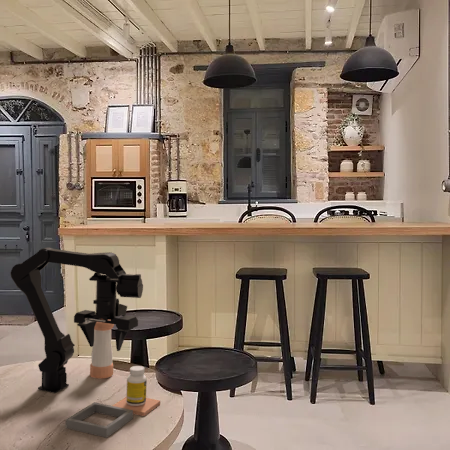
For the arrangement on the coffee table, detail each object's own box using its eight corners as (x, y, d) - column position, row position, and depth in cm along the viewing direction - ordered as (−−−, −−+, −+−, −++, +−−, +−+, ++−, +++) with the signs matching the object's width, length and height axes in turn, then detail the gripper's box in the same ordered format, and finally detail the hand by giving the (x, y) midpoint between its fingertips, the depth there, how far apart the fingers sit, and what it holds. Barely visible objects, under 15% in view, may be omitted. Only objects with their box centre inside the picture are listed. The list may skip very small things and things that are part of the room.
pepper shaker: (95, 370, 173) (96, 312, 172) (116, 372, 172) (117, 314, 171) (86, 377, 166) (87, 317, 165) (108, 379, 165) (109, 319, 164)
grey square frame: (65, 427, 130) (65, 419, 130) (94, 410, 142) (94, 402, 142) (106, 437, 126) (106, 428, 126) (132, 418, 137) (132, 410, 137)
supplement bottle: (147, 406, 143) (148, 370, 143) (127, 407, 142) (127, 372, 141) (144, 398, 148) (145, 364, 148) (125, 399, 147) (126, 365, 146)
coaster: (111, 409, 143) (112, 405, 142) (129, 397, 151) (129, 394, 151) (144, 416, 139) (144, 412, 139) (160, 404, 147) (160, 400, 147)
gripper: (148, 294, 157) (146, 346, 158) (95, 288, 164) (94, 337, 165) (128, 301, 147) (126, 356, 148) (73, 294, 153) (72, 347, 154)
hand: (105, 348), depth 154 cm, fingers open, 9 cm apart
